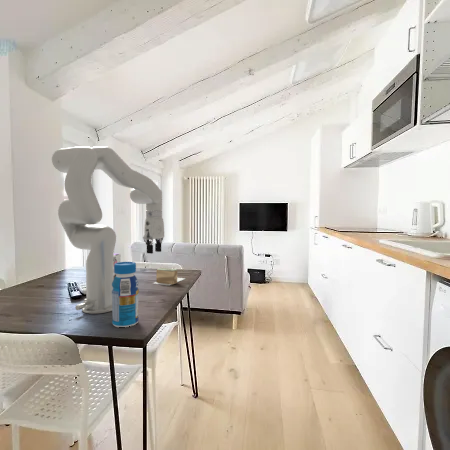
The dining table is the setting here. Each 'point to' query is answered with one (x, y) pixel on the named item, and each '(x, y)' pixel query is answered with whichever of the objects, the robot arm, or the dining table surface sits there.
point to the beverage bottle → (125, 295)
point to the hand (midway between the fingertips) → (154, 252)
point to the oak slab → (166, 275)
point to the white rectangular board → (170, 284)
